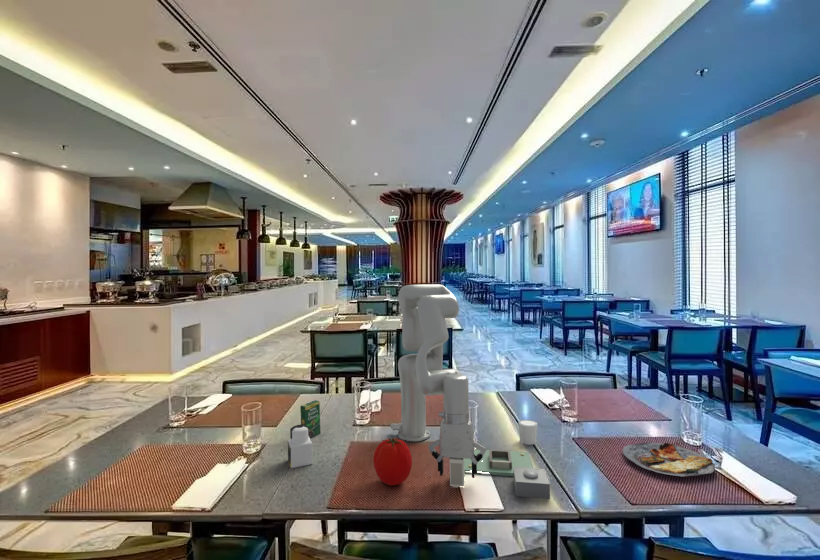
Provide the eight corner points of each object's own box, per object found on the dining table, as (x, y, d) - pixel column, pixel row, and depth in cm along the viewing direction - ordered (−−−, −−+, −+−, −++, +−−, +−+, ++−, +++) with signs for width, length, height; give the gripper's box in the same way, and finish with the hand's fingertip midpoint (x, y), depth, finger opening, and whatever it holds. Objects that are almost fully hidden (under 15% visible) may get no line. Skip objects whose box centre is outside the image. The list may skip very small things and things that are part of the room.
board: (461, 472, 126) (461, 468, 126) (464, 451, 141) (464, 447, 141) (535, 477, 122) (535, 473, 122) (529, 455, 137) (529, 451, 137)
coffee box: (305, 440, 154) (305, 406, 154) (300, 439, 155) (299, 405, 155) (321, 433, 161) (320, 400, 161) (315, 432, 162) (315, 399, 162)
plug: (449, 487, 117) (449, 459, 117) (451, 477, 123) (451, 450, 123) (463, 488, 116) (463, 460, 116) (464, 477, 123) (464, 451, 123)
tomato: (416, 474, 125) (415, 432, 125) (407, 495, 113) (406, 448, 113) (380, 471, 128) (379, 429, 128) (367, 491, 116) (367, 445, 116)
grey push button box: (516, 496, 112) (515, 479, 112) (513, 480, 120) (513, 464, 120) (550, 498, 110) (549, 481, 110) (545, 482, 119) (544, 466, 119)
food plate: (671, 445, 143) (671, 435, 143) (735, 476, 121) (734, 465, 120) (608, 453, 139) (608, 443, 139) (661, 487, 116) (661, 475, 116)
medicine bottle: (287, 460, 137) (287, 424, 137) (309, 456, 140) (308, 421, 140) (290, 468, 131) (289, 431, 131) (312, 464, 133) (312, 428, 133)
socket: (489, 467, 127) (489, 461, 127) (489, 455, 135) (489, 449, 135) (511, 469, 125) (511, 462, 125) (510, 456, 134) (509, 450, 134)
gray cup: (538, 445, 145) (538, 426, 145) (519, 444, 146) (518, 425, 146) (536, 438, 152) (536, 420, 152) (518, 437, 153) (517, 419, 153)
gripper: (425, 419, 118) (426, 478, 118) (486, 422, 115) (487, 483, 115) (429, 411, 125) (430, 467, 125) (485, 413, 122) (486, 470, 122)
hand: (457, 474), depth 120 cm, fingers open, 9 cm apart
